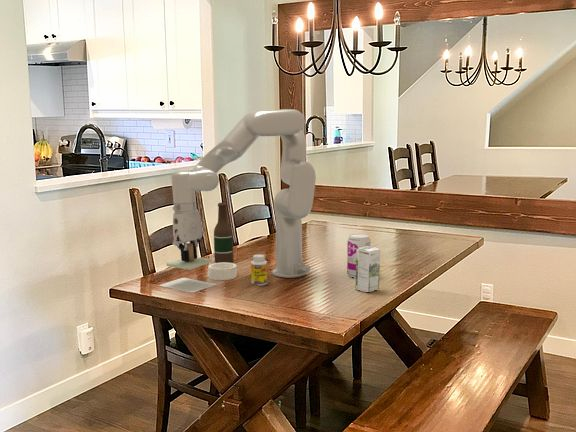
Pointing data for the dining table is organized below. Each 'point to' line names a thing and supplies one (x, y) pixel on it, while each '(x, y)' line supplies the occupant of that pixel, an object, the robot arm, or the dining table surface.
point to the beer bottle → (223, 237)
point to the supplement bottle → (259, 270)
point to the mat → (187, 285)
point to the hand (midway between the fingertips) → (189, 259)
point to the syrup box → (367, 268)
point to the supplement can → (352, 245)
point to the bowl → (222, 271)
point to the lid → (192, 262)
